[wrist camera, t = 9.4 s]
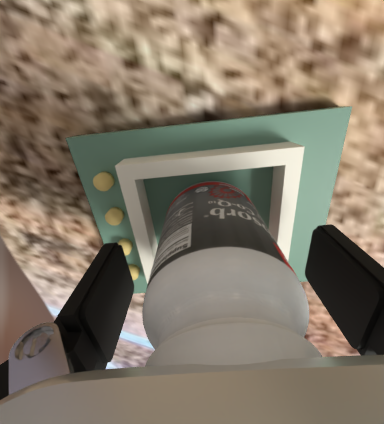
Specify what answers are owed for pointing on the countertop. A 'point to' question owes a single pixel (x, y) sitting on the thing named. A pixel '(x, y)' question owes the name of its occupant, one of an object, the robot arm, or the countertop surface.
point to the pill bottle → (222, 286)
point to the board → (213, 176)
